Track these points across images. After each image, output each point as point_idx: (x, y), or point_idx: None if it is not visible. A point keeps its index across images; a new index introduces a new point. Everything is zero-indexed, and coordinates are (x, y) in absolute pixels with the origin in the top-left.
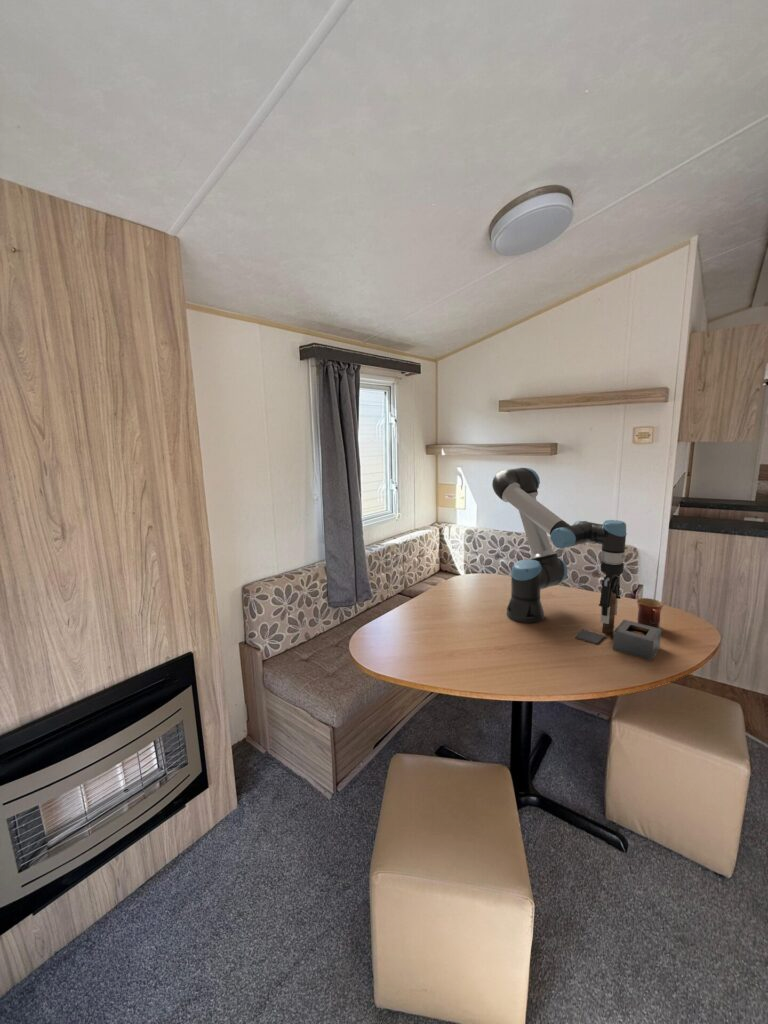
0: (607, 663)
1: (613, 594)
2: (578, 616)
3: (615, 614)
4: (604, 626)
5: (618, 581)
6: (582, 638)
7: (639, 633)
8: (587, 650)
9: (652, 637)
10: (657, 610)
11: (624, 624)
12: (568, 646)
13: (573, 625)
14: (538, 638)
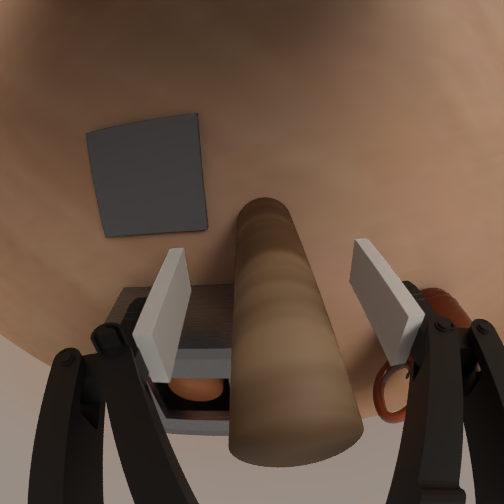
0: (39, 299)
1: (290, 458)
2: (376, 38)
3: (351, 282)
4: (239, 230)
5: (477, 496)
6: (94, 168)
7: (206, 389)
8: (45, 224)
9: (171, 429)
10: (399, 421)
11: (207, 363)
12: (19, 160)
13: (232, 49)
14: (4, 49)
